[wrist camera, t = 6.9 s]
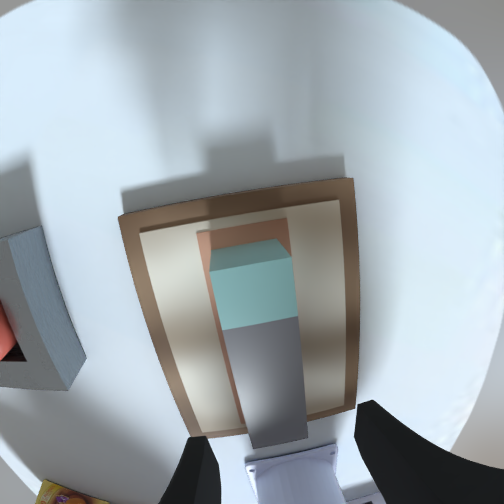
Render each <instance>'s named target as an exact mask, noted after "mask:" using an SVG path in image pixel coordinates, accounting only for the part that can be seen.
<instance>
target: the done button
mask: <svg viewBox="0 0 504 504" xmlns="http://www.w3.org/2000/svg"><path fill="white" fill-rule="evenodd" d="M17 342H18V341H17V339H16V337H15V335H14V332H13V330H12V328H11V325H10V323H9V321H8V318H7V316H6V313H5V311H4V308H3V305H2V303H1V300H0V361H1V360H2V358H3V357H4V356H5V355H6V354H7V353H8V352H9V351H10V350H11V349H12V348H13V346H14V345H15V344H16V343H17Z"/></svg>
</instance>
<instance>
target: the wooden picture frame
mask: <svg viewBox="0 0 504 504" xmlns="http://www.w3.org/2000/svg"><path fill="white" fill-rule="evenodd" d="M118 221H119V225H120V230H121V234H122V238H123V243H124V247H125V251H126V255H127V259H128V263H129V266H130V270H131V274H132V278H133V281H134V285H135V288H136V292H137V295H138V298H139V302H140V305H141V308H142V312H143V315H144V318H145V321H146V324H147V327H148V330H149V333H150V336H151V339H152V342H153V345H154V348H155V350H156V353H157V356H158V359H159V361H160V364H161V367H162V370H163V372H164V375H165V377H166V380H167V382H168V385H169V387H170V390H171V392H172V395H173V397H174V400H175V402H176V404H177V407H178V409H179V411H180V414H181V416H182V418H183V421H184V423H185V425H186V427H187V429H188V432H189V434H190V436H191V437H196V436H206V437H207V439H208V438H218V437H226V436H234V435H241V434H247V433H248V429H247V426H246V422H245V418H244V415H243V411H242V407H241V404H240V400H239V396H238V392H237V388H236V385H235V381H234V377H233V373H232V369H231V365H230V361H229V357H228V353H227V348H226V344H225V340H224V336H223V332H222V327H221V323H220V319H219V314H218V310H217V306H216V301H215V297H214V292H213V287H212V283H211V278H210V273H209V268H210V257H211V250H214V249H220V248H225V247H231V246H236V245H242V244H248V243H253V242H259V241H265V240H270V239H276V238H277V240H278V241H279V242H280V243H281V245H282V246H283V247H284V248H285V249H286V251H287V252H288V253H289V254H290V256H291V257H292V265H293V274H294V282H295V291H296V300H297V310H298V320H299V330H300V340H301V351H302V362H303V374H304V386H305V399H306V413H307V422H308V421H312V420H316V419H320V418H324V417H327V416H331V415H335V414H338V413H342V412H345V411H348V410H352V409H355V405H356V393H357V379H358V362H359V336H360V273H359V246H358V228H357V214H356V202H355V191H354V181H353V178H346V177H345V178H336V179H327V180H319V181H311V182H303V183H296V184H288V185H281V186H274V187H267V188H260V189H254V190H248V191H241V192H235V193H229V194H223V195H217V196H212V197H206V198H200V199H195V200H190V201H184V202H179V203H174V204H169V205H164V206H159V207H154V208H149V209H145V210H140V211H135V212H131V213H126V214H123V215H121V216H119V217H118Z"/></svg>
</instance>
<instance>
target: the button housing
mask: <svg viewBox="0 0 504 504" xmlns="http://www.w3.org/2000/svg"><path fill="white" fill-rule="evenodd" d="M0 300H1V303H2V305H3V308H4V311H5V313H6V316H7V318H8V321H9V323H10V325H11V328H12V330H13V332H14V335H15V337H16V339H17V341H18V342H17V343H16V344H15V345H14V346H13V348H12V349H11V350H10V351H9V352H8V353H7V354H6V355H5V356H4V357H3V358H2V360H1V361H0V387H9V388H21V389H35V390H57V391H68V390H69V388H70V386H71V385H72V383H73V381H74V379H75V378H76V376H77V374H78V372H79V371H80V369H81V367H82V366H83V364H84V362H85V361H86V359H87V358H86V356H85V354H84V351H83V349H82V347H81V344H80V342H79V340H78V337H77V335H76V333H75V330H74V328H73V325H72V323H71V320H70V317H69V315H68V312H67V309H66V307H65V304H64V301H63V298H62V295H61V292H60V289H59V286H58V283H57V280H56V277H55V274H54V271H53V267H52V264H51V260H50V257H49V253H48V249H47V246H46V242H45V238H44V234H43V229H42V226H39V227H35V228H32V229H29V230H26V231H22V232H19V233H16V234H13V235H10V236H6V237H3V238H0Z"/></svg>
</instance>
